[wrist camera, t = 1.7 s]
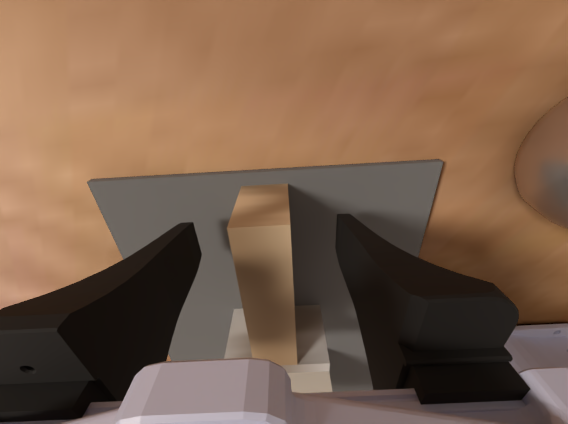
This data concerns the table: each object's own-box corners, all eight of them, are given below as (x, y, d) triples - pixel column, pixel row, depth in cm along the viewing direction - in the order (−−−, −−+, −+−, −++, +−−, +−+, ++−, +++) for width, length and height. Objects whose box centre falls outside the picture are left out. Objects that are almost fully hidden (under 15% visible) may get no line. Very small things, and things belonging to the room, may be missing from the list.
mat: (438, 159, 13) (443, 161, 12) (376, 402, 25) (378, 407, 25) (91, 179, 13) (86, 181, 13) (198, 410, 25) (197, 414, 25)
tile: (325, 347, 20) (349, 497, 13) (324, 358, 20) (347, 507, 13) (237, 351, 20) (213, 502, 13) (239, 362, 21) (219, 511, 14)
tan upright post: (322, 181, 13) (338, 222, 9) (319, 312, 18) (329, 371, 14) (206, 188, 13) (179, 230, 9) (235, 316, 18) (224, 375, 14)
